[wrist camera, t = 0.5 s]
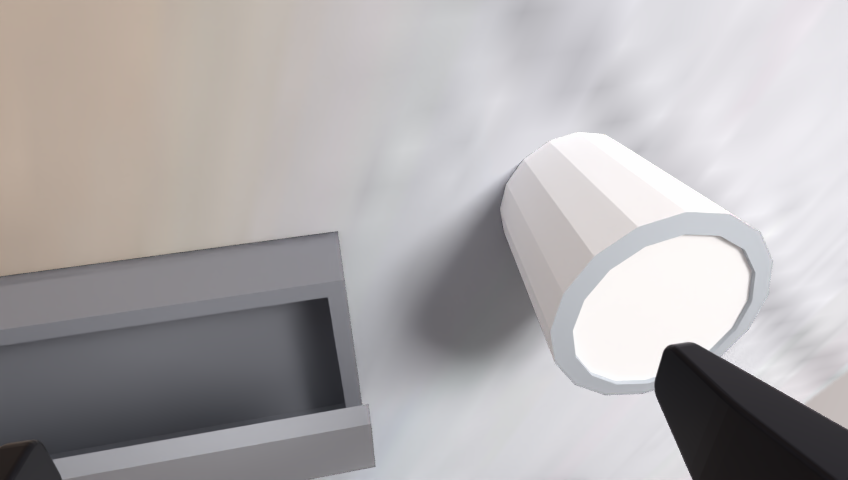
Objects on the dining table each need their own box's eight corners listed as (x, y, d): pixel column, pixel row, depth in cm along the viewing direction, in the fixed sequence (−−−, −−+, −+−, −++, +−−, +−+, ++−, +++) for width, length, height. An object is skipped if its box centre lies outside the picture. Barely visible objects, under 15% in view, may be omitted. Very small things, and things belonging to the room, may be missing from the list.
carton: (361, 399, 26) (368, 454, 24) (-132, 484, 24) (-181, 557, 21) (337, 231, 21) (344, 280, 19) (-290, 315, 19) (-377, 384, 16)
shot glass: (637, 259, 25) (741, 378, 19) (482, 282, 24) (542, 415, 18) (668, 105, 21) (808, 197, 16) (486, 126, 20) (563, 231, 15)
